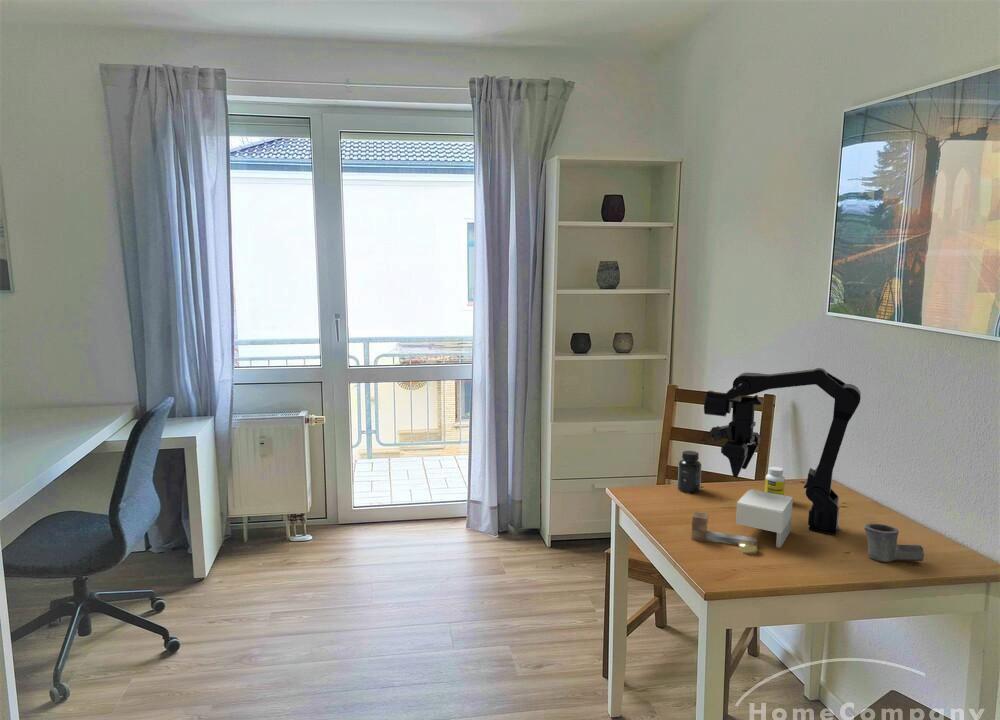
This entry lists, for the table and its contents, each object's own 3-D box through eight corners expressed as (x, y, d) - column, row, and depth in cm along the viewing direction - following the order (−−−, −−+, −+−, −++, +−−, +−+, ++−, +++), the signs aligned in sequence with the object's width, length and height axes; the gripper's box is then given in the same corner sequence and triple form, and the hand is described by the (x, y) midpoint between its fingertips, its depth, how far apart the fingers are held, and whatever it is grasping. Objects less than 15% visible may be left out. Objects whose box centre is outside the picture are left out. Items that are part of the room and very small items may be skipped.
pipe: (925, 568, 154) (929, 535, 153) (866, 562, 156) (869, 530, 155) (915, 557, 160) (918, 525, 159) (857, 552, 162) (860, 521, 161)
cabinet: (790, 531, 174) (792, 497, 173) (779, 548, 164) (782, 511, 163) (747, 522, 180) (749, 488, 179) (734, 537, 170) (736, 502, 169)
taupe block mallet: (756, 542, 167) (757, 520, 166) (756, 549, 163) (757, 526, 163) (692, 533, 173) (693, 511, 172) (691, 539, 169) (692, 517, 168)
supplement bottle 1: (672, 489, 207) (674, 452, 206) (686, 484, 211) (688, 448, 210) (691, 495, 202) (693, 457, 200) (704, 490, 206) (706, 453, 204)
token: (757, 549, 164) (757, 542, 164) (756, 556, 160) (757, 549, 160) (738, 546, 165) (738, 539, 165) (737, 553, 161) (737, 546, 161)
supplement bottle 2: (764, 501, 197) (766, 469, 195) (764, 495, 202) (766, 464, 200) (783, 504, 195) (786, 472, 193) (783, 498, 200) (785, 466, 198)
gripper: (723, 409, 195) (720, 460, 197) (703, 420, 180) (700, 476, 182) (762, 413, 189) (759, 466, 191) (745, 426, 174) (742, 483, 176)
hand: (739, 472), depth 185 cm, fingers open, 9 cm apart
